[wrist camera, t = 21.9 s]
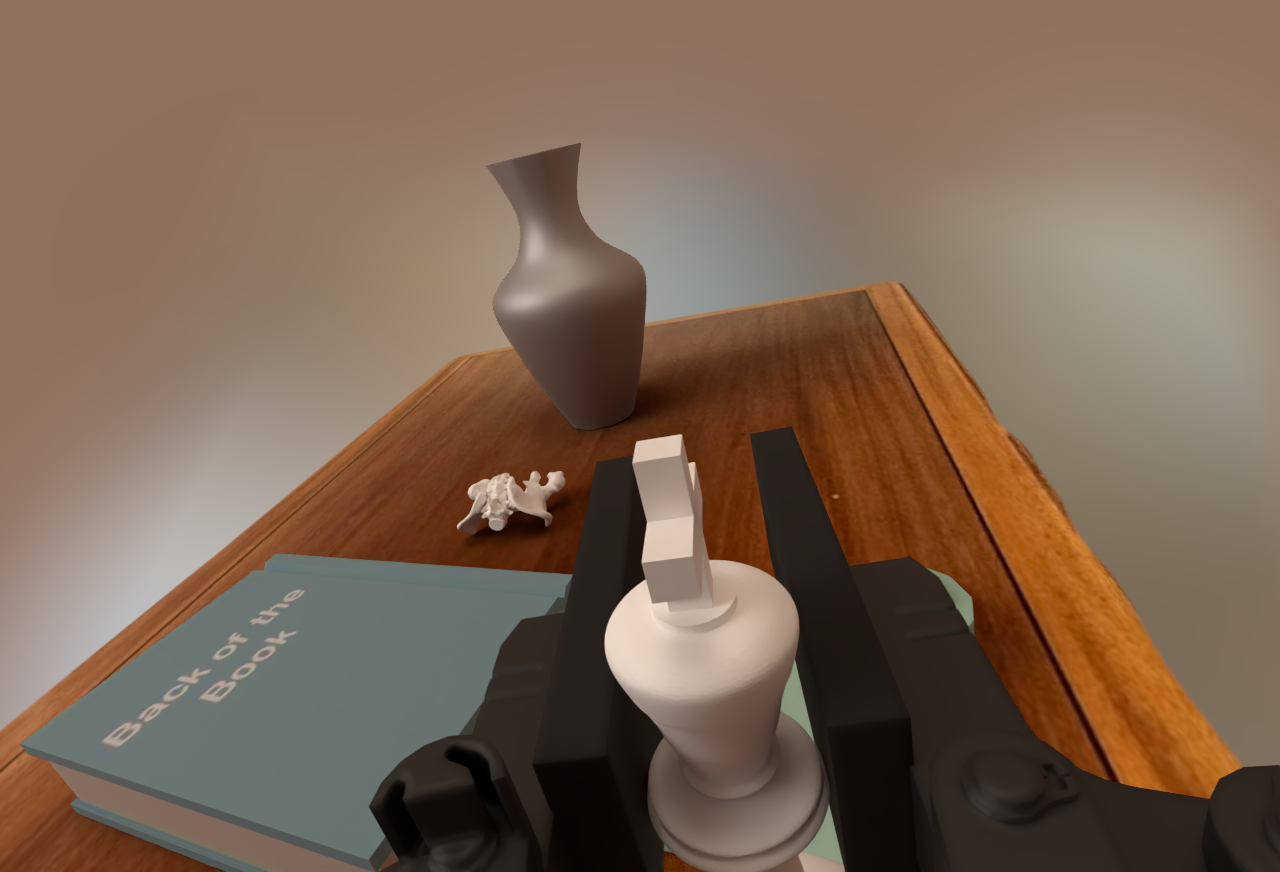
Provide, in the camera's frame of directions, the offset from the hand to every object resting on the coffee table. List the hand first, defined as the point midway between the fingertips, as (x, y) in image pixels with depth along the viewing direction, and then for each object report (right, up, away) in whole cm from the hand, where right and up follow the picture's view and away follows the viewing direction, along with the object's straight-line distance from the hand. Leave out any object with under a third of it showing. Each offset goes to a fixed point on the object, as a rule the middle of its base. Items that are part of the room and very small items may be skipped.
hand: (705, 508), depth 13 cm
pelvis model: (-11, -5, +39) cm, 41 cm away
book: (-16, -14, +23) cm, 31 cm away
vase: (-5, +3, +55) cm, 55 cm away
